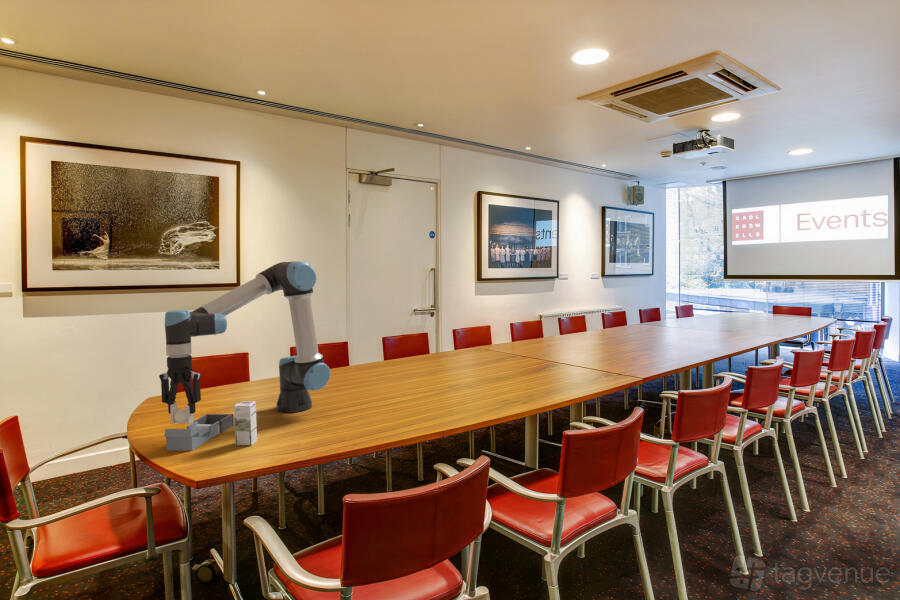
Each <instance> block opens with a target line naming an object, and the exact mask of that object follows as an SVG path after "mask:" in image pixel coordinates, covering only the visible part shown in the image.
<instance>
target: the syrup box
mask: <svg viewBox="0 0 900 600" xmlns="http://www.w3.org/2000/svg"><path fill="white" fill-rule="evenodd" d="M233 420H234V439H235V446H236V447H244V446H245V447H246V446H248V447H249V446H253V445H255V443H256V442H257V441H258V433H257V432H258V431H257V429H258V427H257V403H256V401H255V400H253V401H239V402H237V403H235V404H234V405H233Z"/></svg>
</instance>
